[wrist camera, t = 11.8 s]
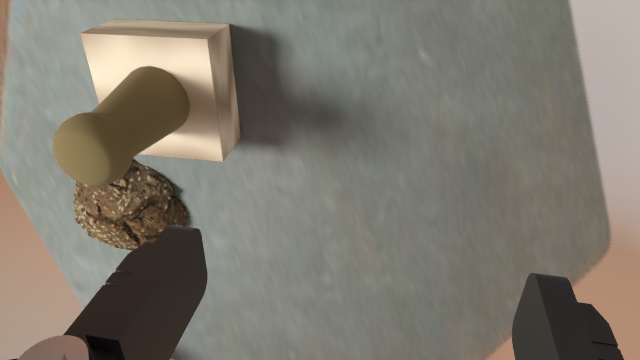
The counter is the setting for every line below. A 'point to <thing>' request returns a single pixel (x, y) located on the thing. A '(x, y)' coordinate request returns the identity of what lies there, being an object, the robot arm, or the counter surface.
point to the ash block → (186, 66)
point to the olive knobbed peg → (121, 126)
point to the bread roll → (128, 208)
